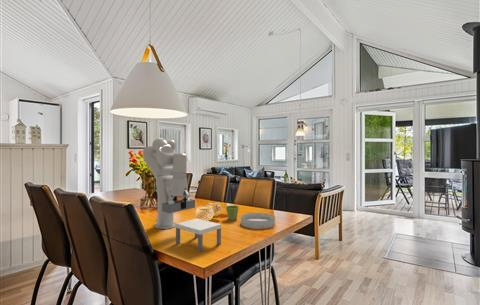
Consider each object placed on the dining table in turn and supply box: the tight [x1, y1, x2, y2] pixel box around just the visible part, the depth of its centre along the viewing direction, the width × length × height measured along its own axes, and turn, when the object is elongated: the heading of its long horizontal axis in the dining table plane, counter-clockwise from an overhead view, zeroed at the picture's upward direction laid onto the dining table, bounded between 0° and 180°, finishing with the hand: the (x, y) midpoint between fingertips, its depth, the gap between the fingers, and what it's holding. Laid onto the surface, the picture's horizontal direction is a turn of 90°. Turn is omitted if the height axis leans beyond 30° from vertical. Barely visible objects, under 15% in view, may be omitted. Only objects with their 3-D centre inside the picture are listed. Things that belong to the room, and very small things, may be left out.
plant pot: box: [225, 205, 240, 221], centre depth 183 cm, size 9×9×9 cm
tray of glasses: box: [162, 197, 196, 214], centre depth 148 cm, size 6×18×5 cm, turn 143°
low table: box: [175, 218, 222, 253], centre depth 134 cm, size 18×14×10 cm
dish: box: [240, 212, 276, 230], centre depth 172 cm, size 22×22×5 cm
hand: (179, 207), depth 149 cm, fingers closed on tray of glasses, 6 cm apart
